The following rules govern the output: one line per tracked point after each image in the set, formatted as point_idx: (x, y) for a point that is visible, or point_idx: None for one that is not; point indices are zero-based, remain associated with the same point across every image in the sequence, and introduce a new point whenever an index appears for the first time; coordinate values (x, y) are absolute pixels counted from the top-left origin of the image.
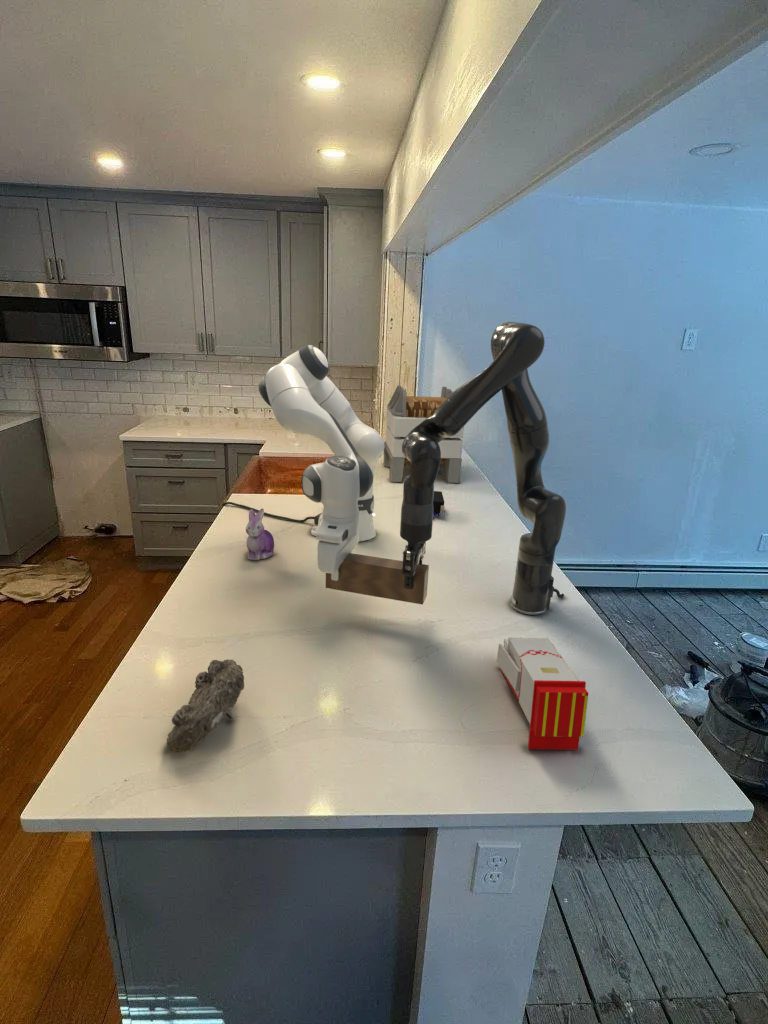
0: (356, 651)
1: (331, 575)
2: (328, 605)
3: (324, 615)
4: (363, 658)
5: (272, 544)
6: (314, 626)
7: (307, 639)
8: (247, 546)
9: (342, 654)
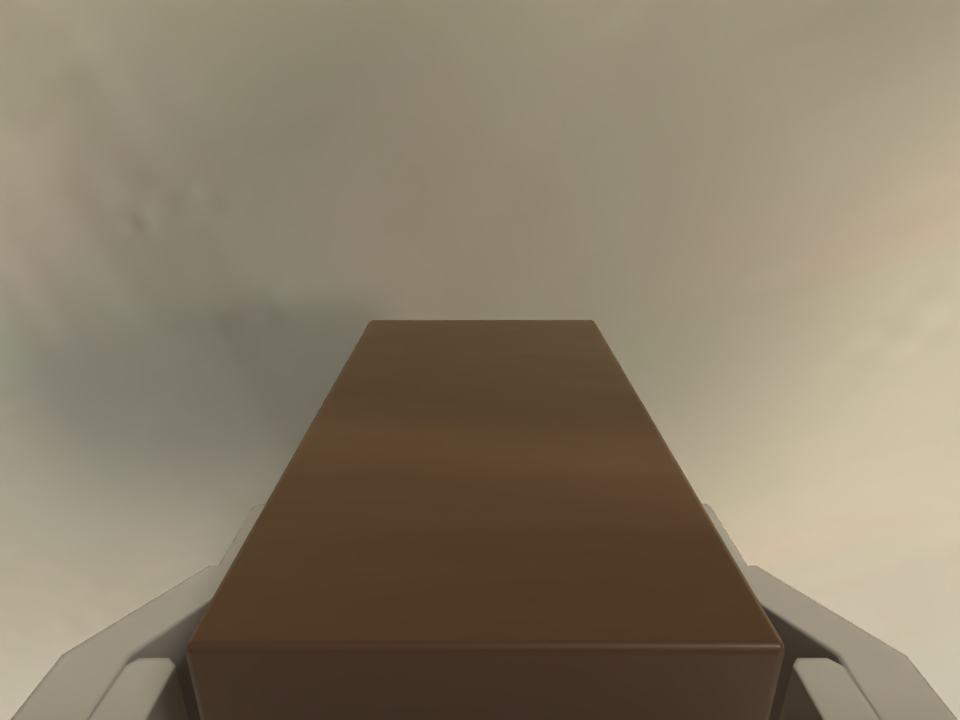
0: (101, 564)
1: (234, 542)
2: (556, 218)
3: (397, 246)
4: (63, 610)
5: None
6: (218, 235)
7: (39, 255)
8: None
9: (28, 510)
